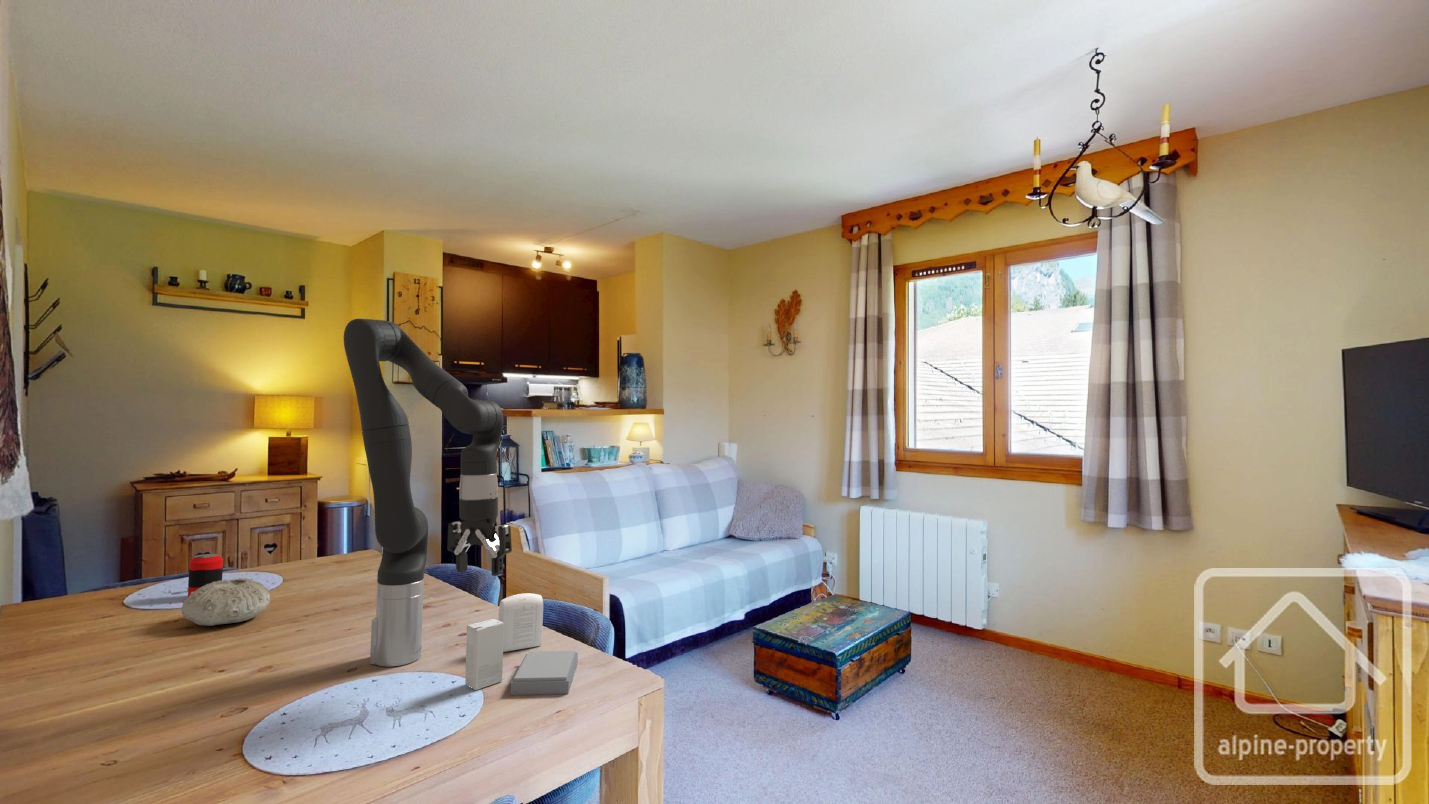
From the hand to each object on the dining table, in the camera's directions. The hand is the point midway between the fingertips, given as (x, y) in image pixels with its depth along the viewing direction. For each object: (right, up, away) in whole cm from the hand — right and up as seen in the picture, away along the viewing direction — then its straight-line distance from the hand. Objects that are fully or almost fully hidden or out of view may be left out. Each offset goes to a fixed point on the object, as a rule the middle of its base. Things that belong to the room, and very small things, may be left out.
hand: (479, 573), depth 127 cm
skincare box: (+2, -21, -4) cm, 22 cm away
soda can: (-99, -21, +50) cm, 112 cm away
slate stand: (+14, -21, -1) cm, 26 cm away
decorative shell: (-77, -21, +30) cm, 85 cm away
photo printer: (+3, -22, +16) cm, 27 cm away
